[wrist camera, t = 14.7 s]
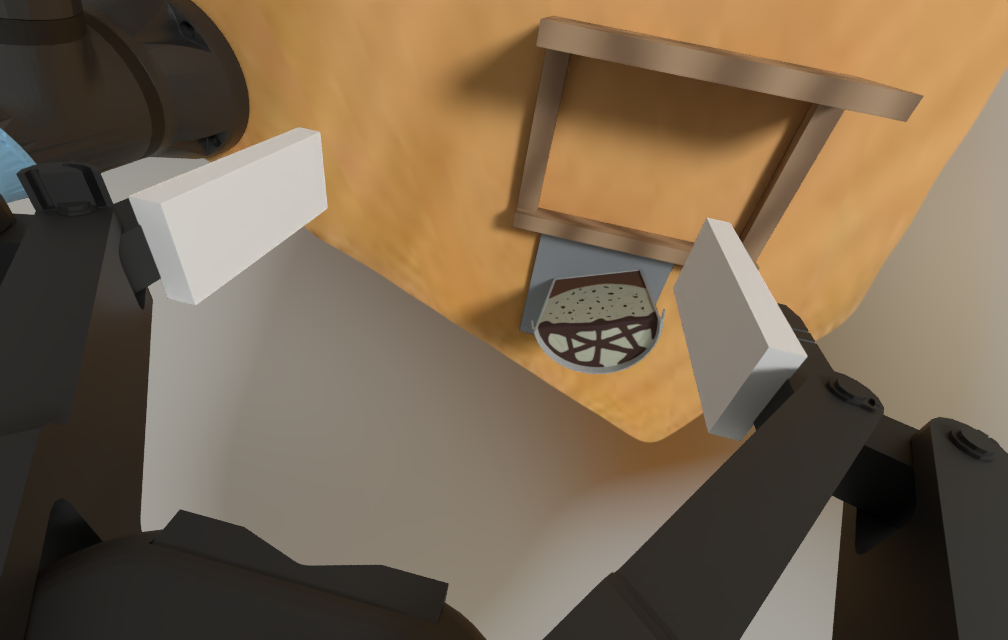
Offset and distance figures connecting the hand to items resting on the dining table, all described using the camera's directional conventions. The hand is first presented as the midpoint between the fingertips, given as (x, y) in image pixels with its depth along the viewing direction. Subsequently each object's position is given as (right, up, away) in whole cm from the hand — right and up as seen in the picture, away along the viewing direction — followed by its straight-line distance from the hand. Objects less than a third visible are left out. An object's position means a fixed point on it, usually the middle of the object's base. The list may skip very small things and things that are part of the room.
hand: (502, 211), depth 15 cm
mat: (+10, -1, +34) cm, 36 cm away
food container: (+11, -1, +34) cm, 36 cm away
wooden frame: (+14, +11, +25) cm, 31 cm away
